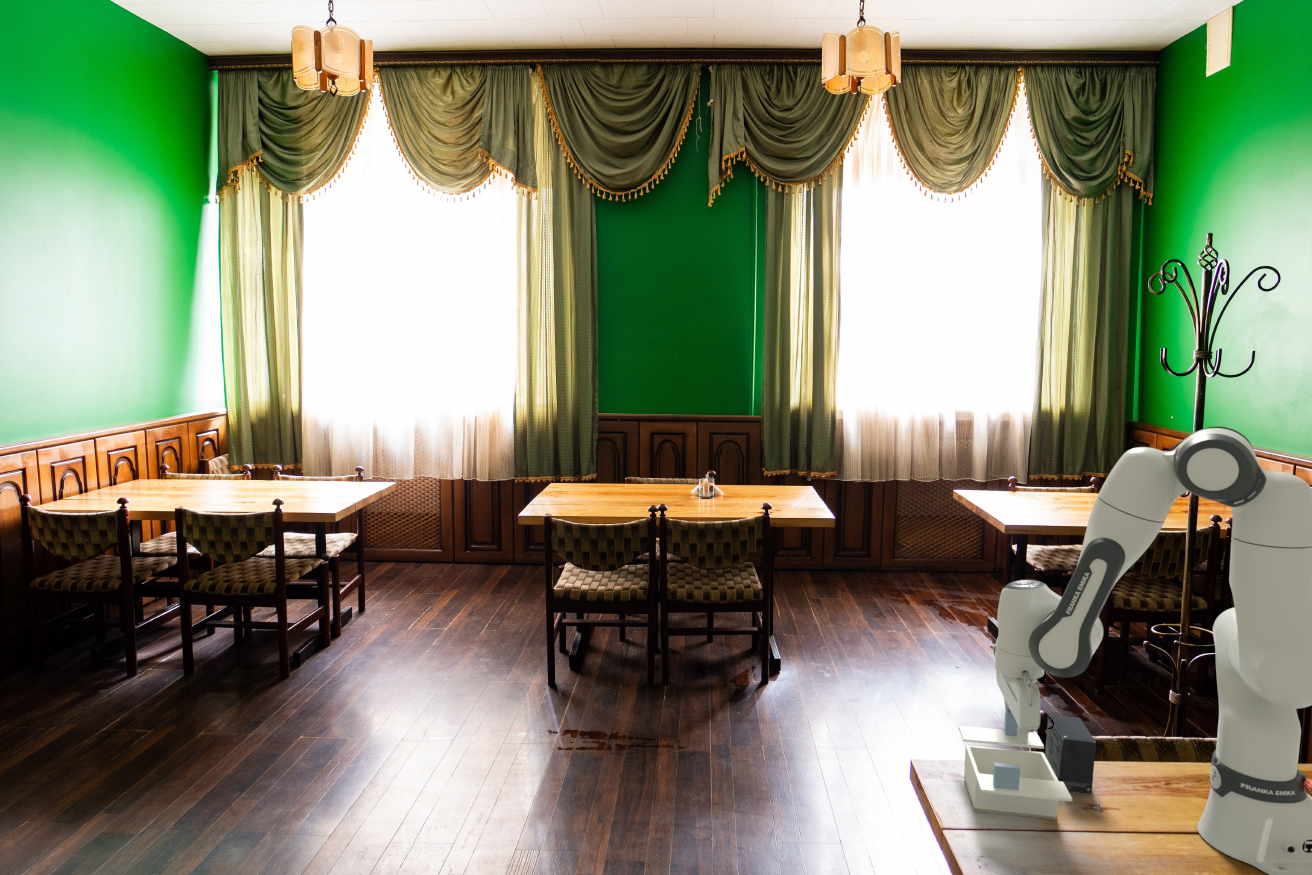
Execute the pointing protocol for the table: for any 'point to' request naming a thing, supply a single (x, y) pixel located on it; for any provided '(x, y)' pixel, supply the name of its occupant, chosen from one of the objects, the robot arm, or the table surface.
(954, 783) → the table surface
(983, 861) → the table surface
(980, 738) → the lid panel far
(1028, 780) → the lid panel near
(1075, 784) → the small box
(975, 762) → the carton
